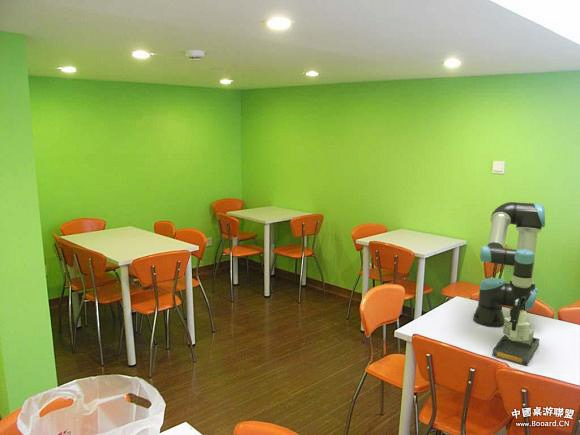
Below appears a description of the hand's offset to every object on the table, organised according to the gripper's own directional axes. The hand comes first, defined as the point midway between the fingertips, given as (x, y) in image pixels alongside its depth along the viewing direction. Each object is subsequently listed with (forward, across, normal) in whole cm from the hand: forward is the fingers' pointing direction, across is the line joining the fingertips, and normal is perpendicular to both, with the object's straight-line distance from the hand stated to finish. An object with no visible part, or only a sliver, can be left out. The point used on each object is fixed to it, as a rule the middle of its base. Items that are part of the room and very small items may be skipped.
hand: (516, 333), depth 199 cm
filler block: (+8, +13, 0) cm, 15 cm away
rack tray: (+10, +5, 0) cm, 11 cm away
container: (+2, 0, 0) cm, 2 cm away
